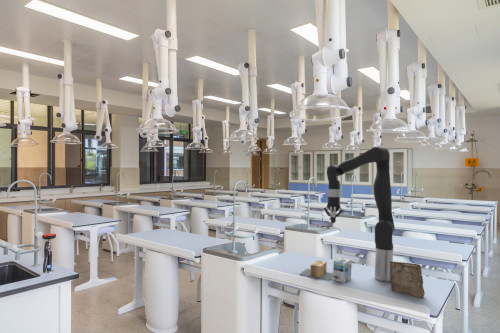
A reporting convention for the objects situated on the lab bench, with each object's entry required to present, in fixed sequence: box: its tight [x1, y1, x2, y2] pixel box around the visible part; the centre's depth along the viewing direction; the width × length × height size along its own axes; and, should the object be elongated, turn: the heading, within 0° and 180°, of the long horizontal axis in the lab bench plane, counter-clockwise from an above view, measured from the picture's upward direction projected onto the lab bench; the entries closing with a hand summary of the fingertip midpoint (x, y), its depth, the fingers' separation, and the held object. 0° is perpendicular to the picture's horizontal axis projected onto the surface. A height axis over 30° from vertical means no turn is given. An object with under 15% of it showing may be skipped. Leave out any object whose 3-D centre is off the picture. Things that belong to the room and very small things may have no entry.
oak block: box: [310, 259, 328, 277], centre depth 190 cm, size 6×6×12 cm
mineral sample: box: [389, 261, 426, 299], centre depth 163 cm, size 17×4×15 cm, turn 47°
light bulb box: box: [332, 257, 353, 284], centre depth 182 cm, size 11×7×11 cm, turn 143°
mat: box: [299, 268, 333, 281], centre depth 189 cm, size 18×13×1 cm
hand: (333, 222), depth 211 cm, fingers closed
